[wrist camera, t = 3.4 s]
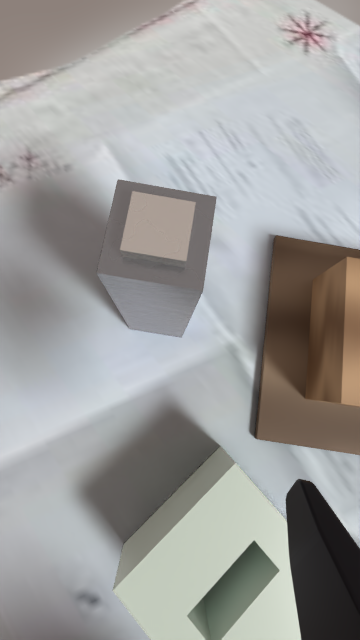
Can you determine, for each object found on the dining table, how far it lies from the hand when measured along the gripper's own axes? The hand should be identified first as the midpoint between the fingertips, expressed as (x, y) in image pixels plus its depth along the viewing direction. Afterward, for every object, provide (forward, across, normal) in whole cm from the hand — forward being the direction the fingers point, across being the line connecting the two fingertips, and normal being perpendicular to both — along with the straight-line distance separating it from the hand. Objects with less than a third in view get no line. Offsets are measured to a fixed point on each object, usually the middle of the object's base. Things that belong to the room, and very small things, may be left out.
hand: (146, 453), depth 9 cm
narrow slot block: (+5, -6, +14) cm, 16 cm away
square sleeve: (+15, -15, +3) cm, 22 cm away
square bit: (+15, +1, +3) cm, 15 cm away
